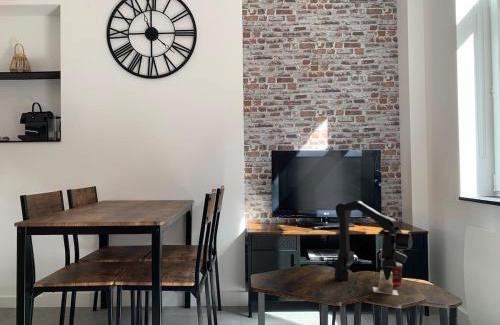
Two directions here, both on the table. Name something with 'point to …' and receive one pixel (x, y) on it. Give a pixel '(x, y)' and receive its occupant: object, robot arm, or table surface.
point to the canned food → (397, 274)
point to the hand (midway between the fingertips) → (386, 277)
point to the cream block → (385, 288)
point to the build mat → (383, 292)
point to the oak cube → (383, 279)
